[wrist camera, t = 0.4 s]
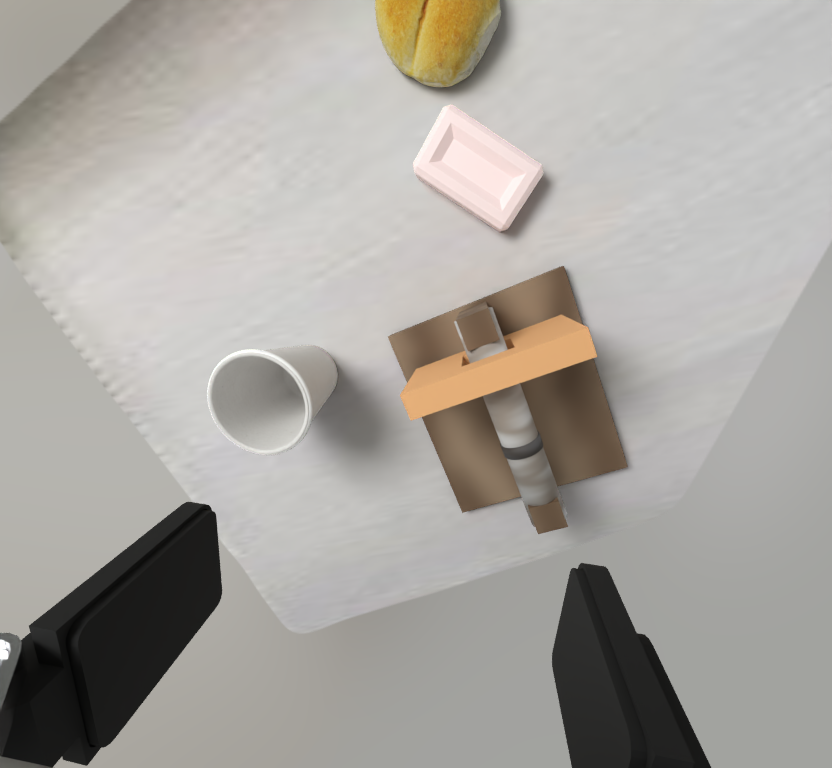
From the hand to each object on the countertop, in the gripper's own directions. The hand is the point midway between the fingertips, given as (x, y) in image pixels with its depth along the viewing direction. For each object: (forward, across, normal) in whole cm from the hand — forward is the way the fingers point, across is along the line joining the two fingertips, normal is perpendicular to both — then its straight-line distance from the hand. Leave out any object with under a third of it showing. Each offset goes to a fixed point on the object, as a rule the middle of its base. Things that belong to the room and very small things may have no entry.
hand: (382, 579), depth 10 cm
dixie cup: (+28, +14, +3) cm, 31 cm away
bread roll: (+28, +3, -26) cm, 38 cm away
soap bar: (+28, -1, -15) cm, 32 cm away
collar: (+26, -3, -1) cm, 26 cm away
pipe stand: (+28, -6, +3) cm, 29 cm away
